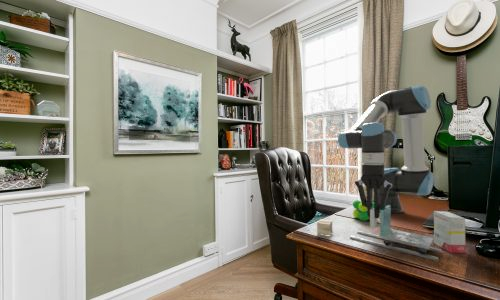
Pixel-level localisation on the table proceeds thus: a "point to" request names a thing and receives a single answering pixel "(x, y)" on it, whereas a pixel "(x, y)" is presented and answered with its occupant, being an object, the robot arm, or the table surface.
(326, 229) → the beech block
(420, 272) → the table surface
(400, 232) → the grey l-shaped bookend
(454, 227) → the ink box
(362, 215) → the molecule model
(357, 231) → the track
